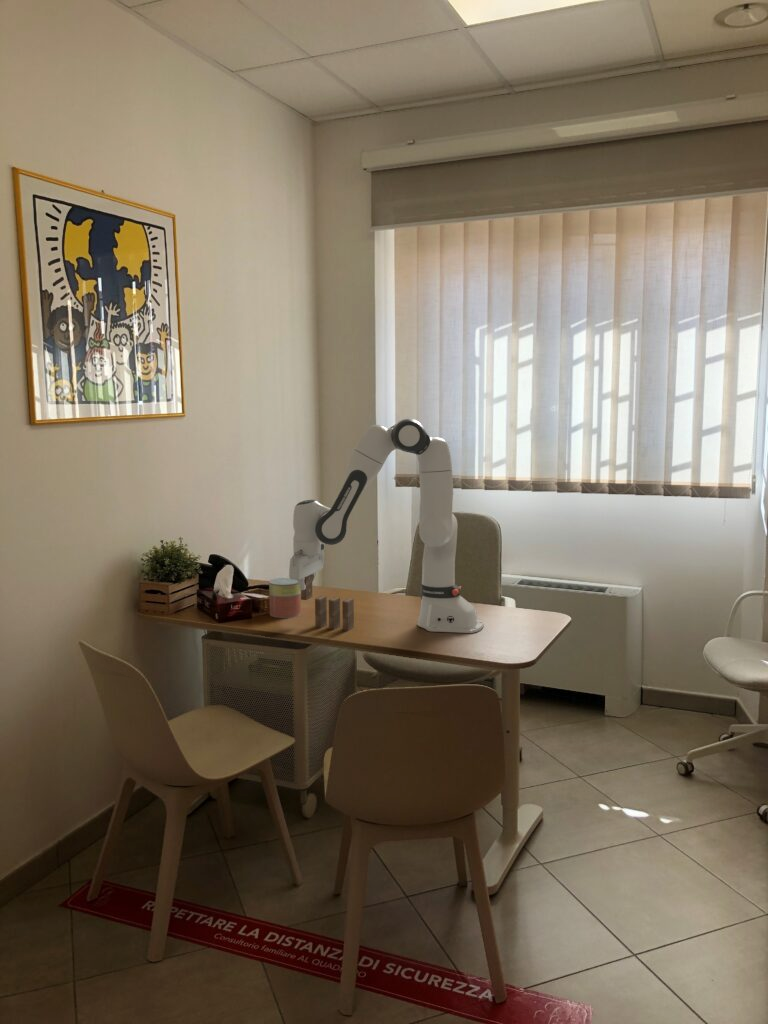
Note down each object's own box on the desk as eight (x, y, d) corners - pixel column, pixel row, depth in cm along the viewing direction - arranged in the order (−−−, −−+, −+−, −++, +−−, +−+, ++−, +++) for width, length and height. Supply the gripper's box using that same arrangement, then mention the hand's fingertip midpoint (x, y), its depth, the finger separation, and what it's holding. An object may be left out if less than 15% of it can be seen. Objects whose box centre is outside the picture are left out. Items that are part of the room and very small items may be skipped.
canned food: (303, 610, 314) (303, 578, 312) (297, 618, 303) (297, 584, 301) (273, 609, 315) (272, 577, 313) (266, 617, 304) (265, 584, 302)
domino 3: (340, 625, 292) (340, 597, 291) (334, 629, 288) (334, 600, 286) (334, 625, 293) (334, 596, 292) (328, 629, 288) (328, 600, 287)
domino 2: (326, 624, 294) (326, 596, 293) (320, 628, 289) (320, 599, 288) (321, 624, 295) (321, 595, 293) (315, 627, 290) (314, 598, 289)
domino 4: (353, 627, 291) (353, 598, 289) (348, 631, 286) (347, 601, 285) (348, 626, 291) (348, 597, 290) (342, 630, 287) (342, 601, 285)
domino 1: (312, 596, 295) (312, 568, 293) (306, 600, 290) (306, 571, 289) (307, 596, 295) (306, 567, 294) (300, 599, 291) (300, 570, 289)
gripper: (301, 553, 279) (301, 595, 281) (327, 543, 298) (327, 582, 300) (284, 552, 282) (284, 593, 283) (310, 542, 301) (310, 581, 303)
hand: (306, 587), depth 292 cm, fingers closed on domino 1, 5 cm apart
